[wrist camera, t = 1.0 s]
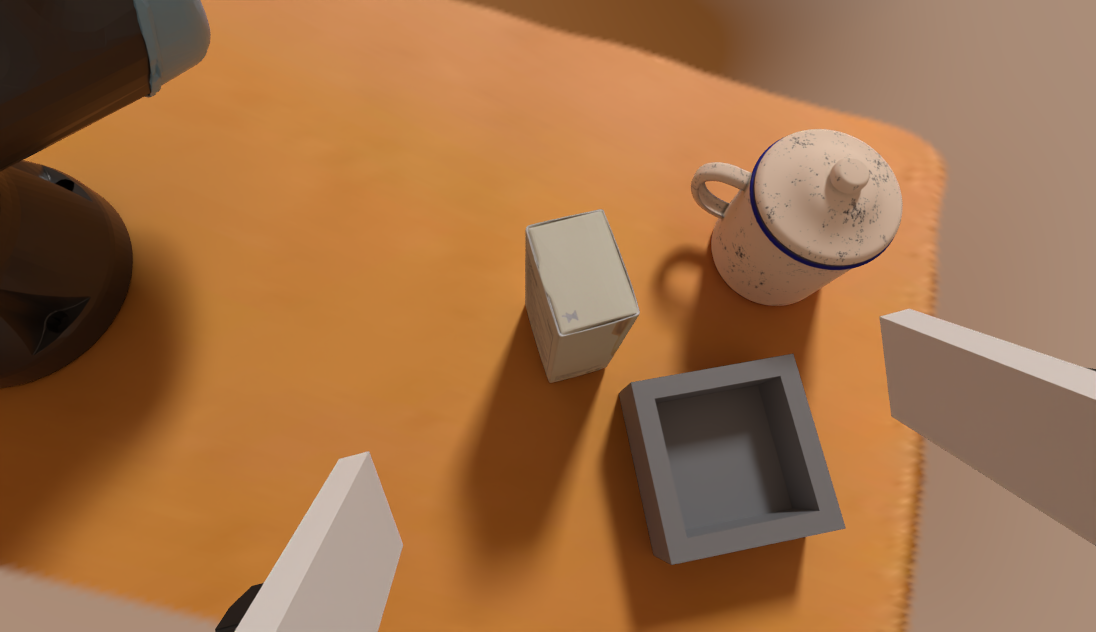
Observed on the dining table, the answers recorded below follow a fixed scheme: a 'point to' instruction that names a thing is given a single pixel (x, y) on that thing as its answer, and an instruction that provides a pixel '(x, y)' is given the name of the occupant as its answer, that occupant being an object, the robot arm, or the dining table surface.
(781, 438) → the tray
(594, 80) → the dining table surface
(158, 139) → the dining table surface
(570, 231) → the skincare box
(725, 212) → the teacup with lid
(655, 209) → the dining table surface
